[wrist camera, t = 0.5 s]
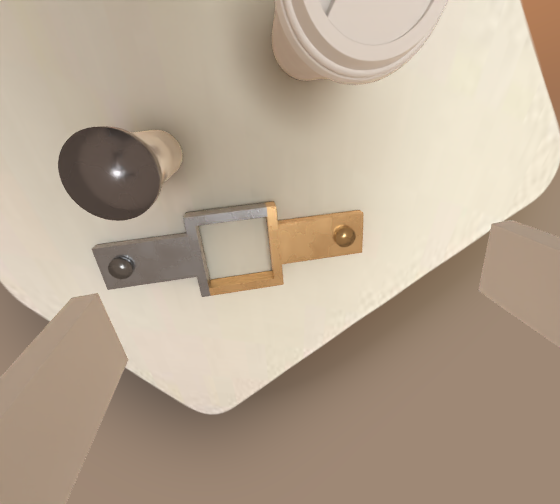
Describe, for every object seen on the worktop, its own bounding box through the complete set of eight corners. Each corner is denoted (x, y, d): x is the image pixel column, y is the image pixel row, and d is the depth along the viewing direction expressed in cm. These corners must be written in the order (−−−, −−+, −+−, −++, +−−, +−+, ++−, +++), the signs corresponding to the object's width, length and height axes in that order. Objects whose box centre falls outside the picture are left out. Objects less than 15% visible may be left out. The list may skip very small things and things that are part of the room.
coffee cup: (315, -59, 24) (420, -283, 11) (375, 49, 28) (508, -17, 15) (231, 30, 26) (231, -68, 12) (299, 120, 30) (354, 121, 16)
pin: (122, 126, 28) (41, 131, 16) (181, 121, 28) (144, 122, 16) (139, 184, 30) (79, 225, 18) (193, 178, 30) (168, 214, 19)
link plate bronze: (195, 211, 32) (193, 216, 30) (359, 190, 34) (367, 194, 32) (211, 286, 36) (210, 295, 34) (357, 264, 38) (364, 272, 36)
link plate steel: (88, 224, 31) (79, 231, 29) (264, 202, 33) (266, 207, 31) (118, 300, 35) (111, 310, 33) (273, 277, 37) (275, 285, 35)
